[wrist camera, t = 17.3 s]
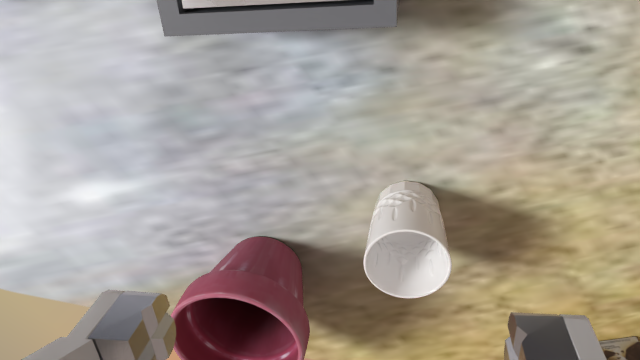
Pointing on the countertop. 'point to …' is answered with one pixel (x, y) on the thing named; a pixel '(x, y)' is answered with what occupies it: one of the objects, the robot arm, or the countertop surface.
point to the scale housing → (276, 17)
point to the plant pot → (245, 307)
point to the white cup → (407, 242)
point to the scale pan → (238, 2)
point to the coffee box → (621, 349)
